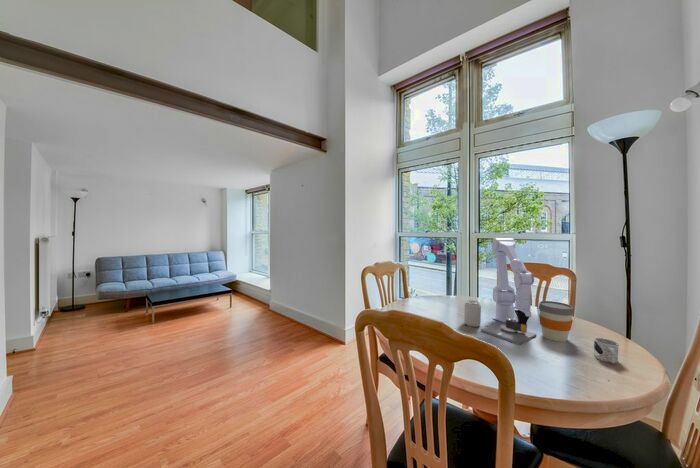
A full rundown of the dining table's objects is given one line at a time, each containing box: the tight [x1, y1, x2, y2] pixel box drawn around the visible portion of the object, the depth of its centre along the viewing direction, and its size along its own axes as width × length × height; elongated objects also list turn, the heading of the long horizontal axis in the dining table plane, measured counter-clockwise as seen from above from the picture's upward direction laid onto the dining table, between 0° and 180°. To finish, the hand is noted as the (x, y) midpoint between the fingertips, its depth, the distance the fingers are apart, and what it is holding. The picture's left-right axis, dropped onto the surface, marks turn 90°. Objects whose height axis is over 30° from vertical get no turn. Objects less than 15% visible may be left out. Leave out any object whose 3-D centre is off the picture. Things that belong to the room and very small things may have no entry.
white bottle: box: [463, 300, 482, 328], centre depth 134 cm, size 8×8×12 cm
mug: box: [593, 337, 619, 364], centre depth 99 cm, size 10×7×7 cm
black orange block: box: [501, 318, 528, 333], centre depth 123 cm, size 11×7×5 cm, turn 33°
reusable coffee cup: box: [538, 300, 574, 343], centre depth 119 cm, size 13×13×15 cm
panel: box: [480, 321, 537, 346], centre depth 123 cm, size 16×17×1 cm
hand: (522, 326), depth 123 cm, fingers closed
